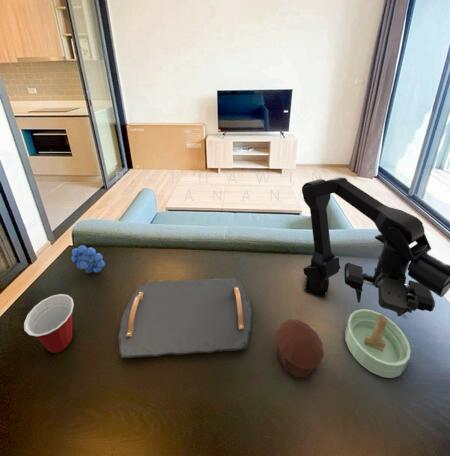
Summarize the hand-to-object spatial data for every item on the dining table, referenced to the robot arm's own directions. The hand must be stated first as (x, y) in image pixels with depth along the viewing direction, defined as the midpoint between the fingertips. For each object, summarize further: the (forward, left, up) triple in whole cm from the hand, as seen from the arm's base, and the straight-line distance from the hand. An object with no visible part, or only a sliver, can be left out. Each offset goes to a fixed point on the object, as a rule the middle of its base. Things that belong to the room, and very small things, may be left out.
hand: (377, 307), depth 65 cm
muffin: (-18, -13, -12) cm, 26 cm away
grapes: (-92, -15, -12) cm, 94 cm away
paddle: (+1, -2, -12) cm, 12 cm away
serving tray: (-50, -15, -12) cm, 54 cm away
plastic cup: (-79, -35, -12) cm, 87 cm away
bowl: (+1, -2, -12) cm, 12 cm away
